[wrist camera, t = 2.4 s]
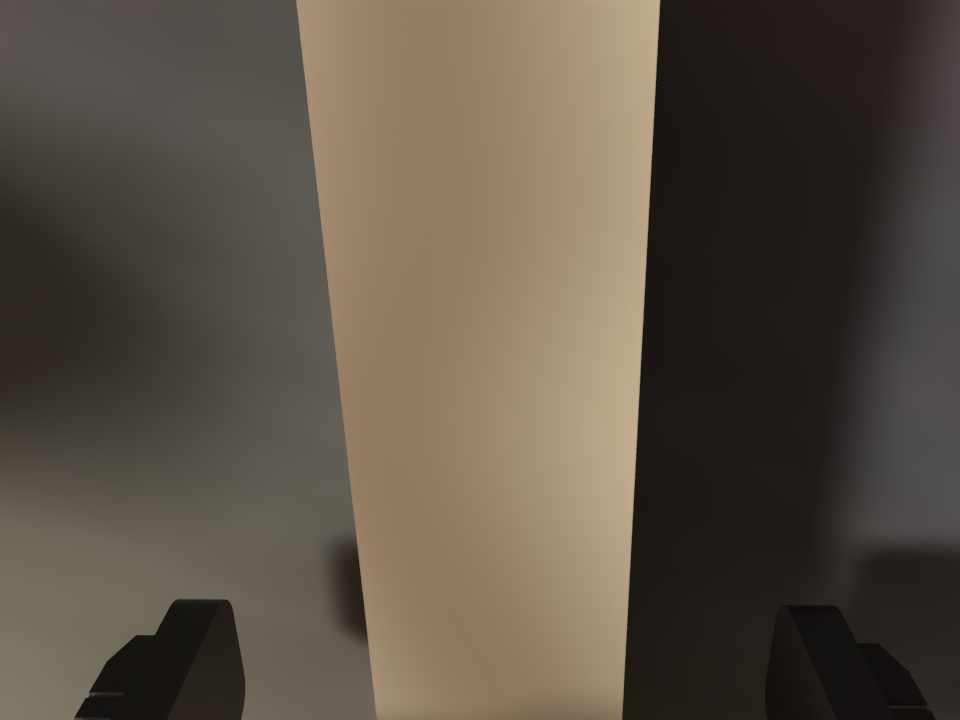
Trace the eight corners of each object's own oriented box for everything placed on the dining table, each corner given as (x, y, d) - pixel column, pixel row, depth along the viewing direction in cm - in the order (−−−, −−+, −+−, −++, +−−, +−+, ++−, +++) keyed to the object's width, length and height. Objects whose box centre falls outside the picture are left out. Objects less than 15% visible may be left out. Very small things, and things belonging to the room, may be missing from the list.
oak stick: (612, -119, 10) (668, -165, 6) (580, 933, 19) (598, 1169, 15) (361, -108, 10) (279, -149, 7) (442, 931, 19) (427, 1165, 15)
